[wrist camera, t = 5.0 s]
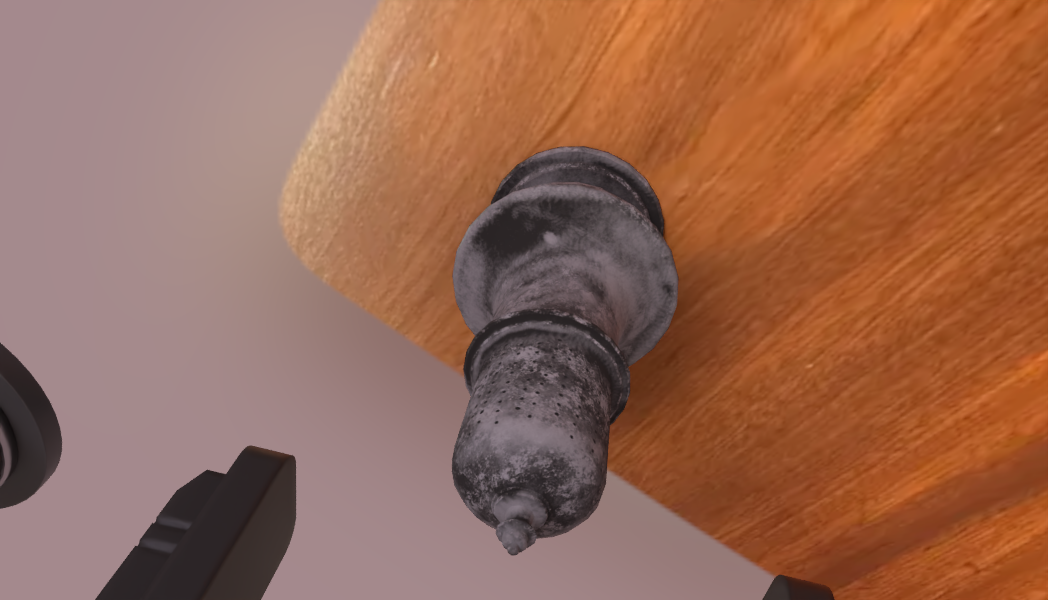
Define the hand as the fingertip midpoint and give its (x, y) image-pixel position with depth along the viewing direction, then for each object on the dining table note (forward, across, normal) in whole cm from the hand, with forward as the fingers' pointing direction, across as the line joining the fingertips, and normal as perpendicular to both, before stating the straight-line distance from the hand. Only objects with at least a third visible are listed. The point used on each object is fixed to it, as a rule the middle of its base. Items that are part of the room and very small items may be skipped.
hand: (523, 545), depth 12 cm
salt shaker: (+12, 0, 0) cm, 12 cm away
